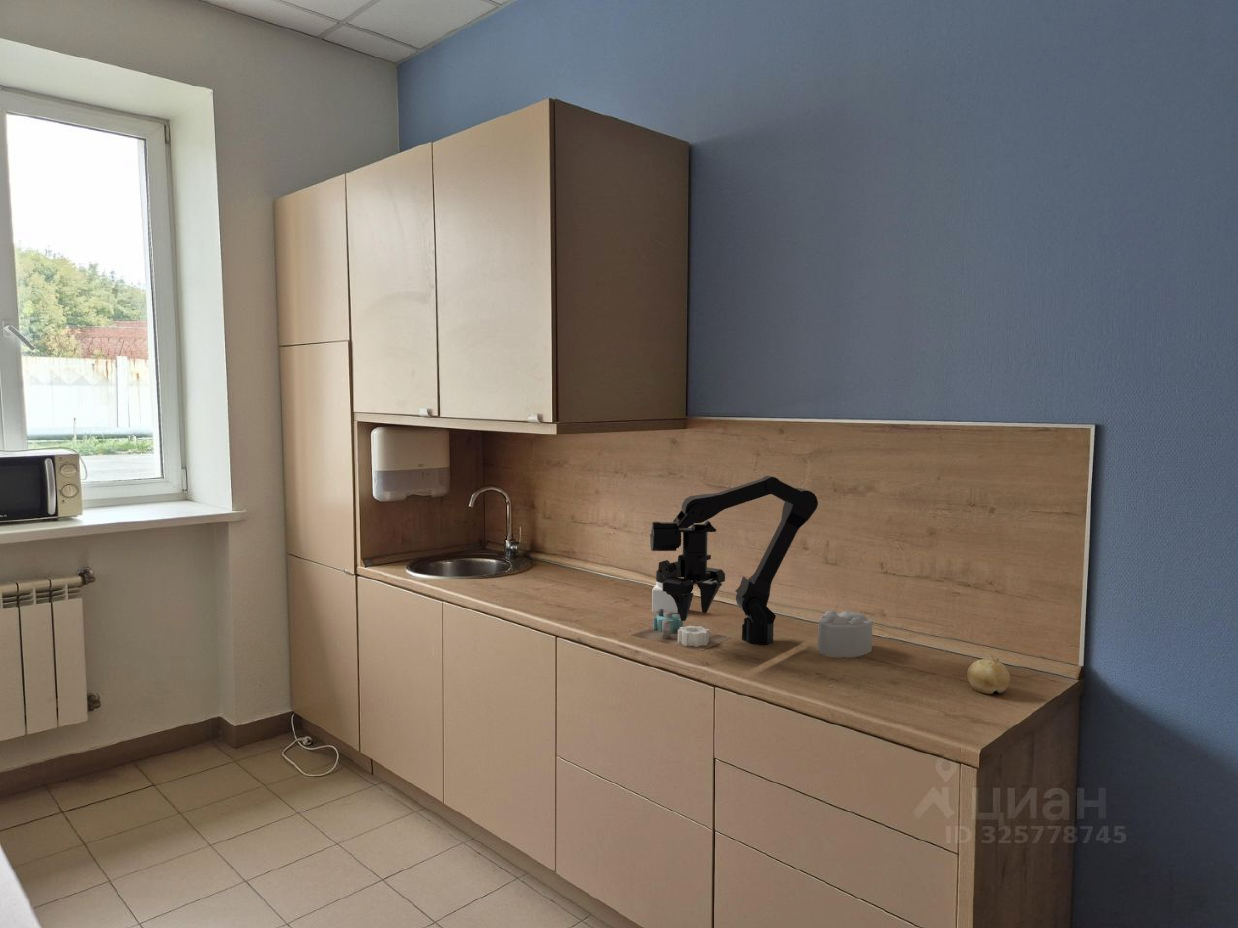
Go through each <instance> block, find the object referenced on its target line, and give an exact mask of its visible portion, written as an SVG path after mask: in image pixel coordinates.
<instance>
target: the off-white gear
mask: <svg viewBox="0 0 1238 928" xmlns="http://www.w3.org/2000/svg"><path fill="white" fill-rule="evenodd" d="M709 633H710V630H709V629H708V628H704V626H701V625H699V626H696V625H695V626H694V625H687V626H683V627H680V628H679V630H678V643H681V644H683V646H694V647H699V646H702V645H705V646H706V645H707V642H709Z"/></svg>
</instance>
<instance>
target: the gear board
mask: <svg viewBox="0 0 1238 928" xmlns="http://www.w3.org/2000/svg"><path fill="white" fill-rule="evenodd" d="M663 614H664V617H665V618H672V614H673V613H671V612H663ZM670 628H671V621H668V620H664V621H662V632H658V630H654V629H653V626H652V627H649V628H647V629H644V630H641V631H639V632H636V633H632V634H630V636H631V637H636V638H640V639H645V640H650V641H654V642H659V643H662V644H667V645H672V646H678V647H683V648H686V649H691V650H695V651H701V652H702V651H704V650H707V649H709V648H711V647H713V646H716V645H719V644H721V643H723V642H725V641H727V640H730V639H732V636H727V635H722V634H717V633H711V632H709V642H707V645H706V646H705V645H702V646H699V647H694V646H683V644H681V643H678V632H673V633H670Z"/></svg>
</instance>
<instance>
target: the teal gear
mask: <svg viewBox="0 0 1238 928" xmlns="http://www.w3.org/2000/svg"><path fill="white" fill-rule="evenodd" d="M664 620H668V621H671V628H670V633H673V632H678V630H679V628H680V627H684V625H683V624H684V621H682V620H681V618H680V615H678V613H672V618H665V617H664V612H663V609H659V612H658V614H655V615H654V616H653V626H652V627H653V629H654V630H658V632H662V621H664Z"/></svg>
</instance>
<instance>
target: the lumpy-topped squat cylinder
mask: <svg viewBox="0 0 1238 928" xmlns="http://www.w3.org/2000/svg"><path fill="white" fill-rule="evenodd" d="M817 627H818V631H817V632H818V636H817V652H818V651H819V652H820V653H821V655H822V654H823V655H822V656H825V655H826V657H830V656H832V657H831V658H841V657H846V658H858V657H862V656H864V654H865V655H867V653H868V654H870V653H871V652H872V651H873V648H872V647H873V620H872V619H871V618H868V617H867V616H865V614H863V613H858V612H853V611H850V610H843V611H841V612H840V613H837V612H836V611H835V610H828V611H826V612H825V613H824V614H823V616H821V617H820V618H819V619H818V626H817ZM819 652H818V653H819ZM869 652H870V653H869ZM820 653H819V654H820ZM861 655H862V656H861ZM857 656H858V657H857Z"/></svg>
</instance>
